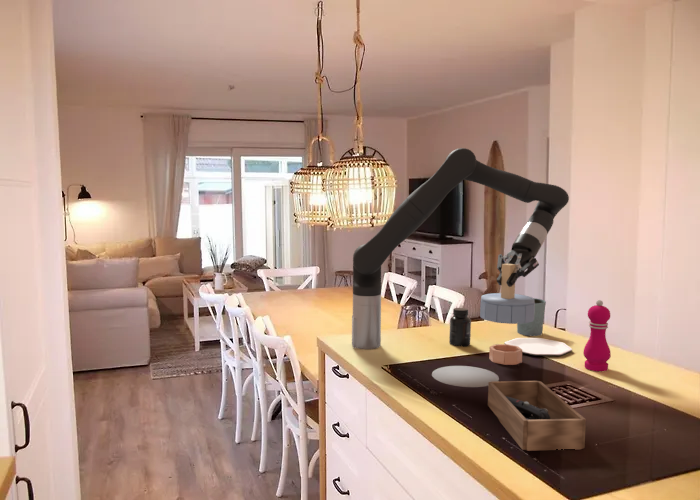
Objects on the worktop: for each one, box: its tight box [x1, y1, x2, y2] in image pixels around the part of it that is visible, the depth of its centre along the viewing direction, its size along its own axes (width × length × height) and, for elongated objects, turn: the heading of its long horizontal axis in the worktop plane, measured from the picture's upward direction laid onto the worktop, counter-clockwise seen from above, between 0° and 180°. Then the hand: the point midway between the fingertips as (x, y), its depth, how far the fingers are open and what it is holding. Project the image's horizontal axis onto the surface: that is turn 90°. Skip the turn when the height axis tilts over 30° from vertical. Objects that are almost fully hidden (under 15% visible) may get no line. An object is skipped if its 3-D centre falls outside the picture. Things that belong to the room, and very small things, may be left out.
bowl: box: [488, 343, 523, 366], centre depth 173 cm, size 9×9×4 cm
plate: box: [504, 337, 573, 357], centre depth 187 cm, size 20×20×2 cm
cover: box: [479, 264, 535, 325], centre depth 171 cm, size 15×15×16 cm
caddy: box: [487, 380, 587, 452], centre depth 126 cm, size 13×24×6 cm, turn 4°
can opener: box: [505, 396, 550, 420], centre depth 128 cm, size 18×7×6 cm, turn 19°
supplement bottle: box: [448, 307, 472, 348], centre depth 191 cm, size 7×7×12 cm
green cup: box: [516, 297, 547, 337], centre depth 207 cm, size 10×10×12 cm
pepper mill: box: [582, 299, 611, 372], centre depth 166 cm, size 7×7×20 cm
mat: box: [431, 365, 500, 388], centre depth 158 cm, size 18×18×1 cm
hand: (503, 284), depth 170 cm, fingers closed on cover, 2 cm apart
